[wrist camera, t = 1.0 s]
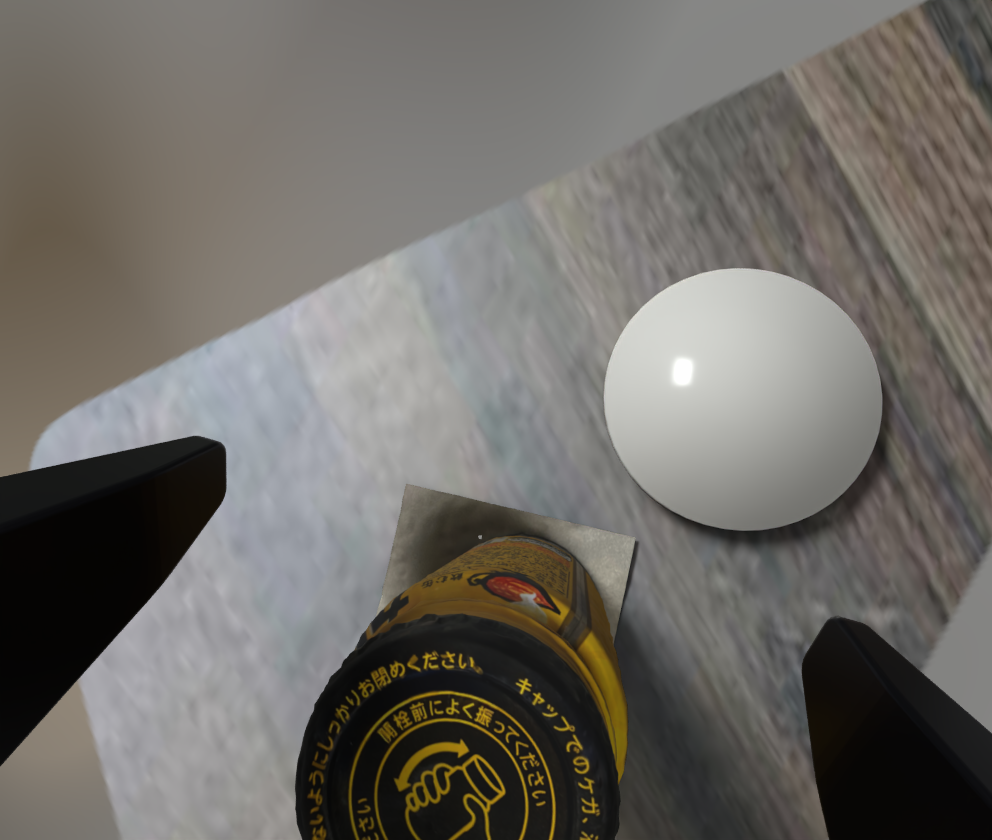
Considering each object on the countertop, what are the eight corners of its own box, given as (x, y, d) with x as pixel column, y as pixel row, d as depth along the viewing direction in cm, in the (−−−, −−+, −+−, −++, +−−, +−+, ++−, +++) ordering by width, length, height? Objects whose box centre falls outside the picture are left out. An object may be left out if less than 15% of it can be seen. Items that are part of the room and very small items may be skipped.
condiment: (592, 747, 20) (620, 1133, 8) (361, 679, 21) (92, 924, 9) (635, 537, 20) (720, 606, 9) (408, 483, 22) (212, 479, 10)
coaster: (836, 562, 19) (846, 565, 19) (574, 486, 21) (574, 486, 20) (897, 309, 20) (909, 301, 19) (639, 252, 21) (642, 243, 21)
